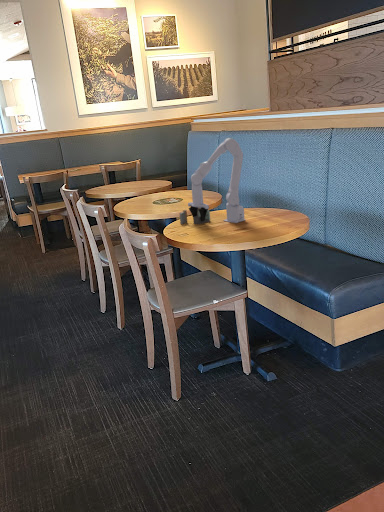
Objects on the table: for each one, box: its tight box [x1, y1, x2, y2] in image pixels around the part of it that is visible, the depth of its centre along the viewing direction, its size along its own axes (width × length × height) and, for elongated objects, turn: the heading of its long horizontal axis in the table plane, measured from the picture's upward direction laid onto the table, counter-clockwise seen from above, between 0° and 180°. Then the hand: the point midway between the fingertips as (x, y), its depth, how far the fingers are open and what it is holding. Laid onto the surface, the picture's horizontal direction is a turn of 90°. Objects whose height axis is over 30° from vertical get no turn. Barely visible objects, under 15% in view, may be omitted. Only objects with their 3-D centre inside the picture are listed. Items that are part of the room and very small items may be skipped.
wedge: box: [192, 216, 211, 225], centre depth 247 cm, size 8×4×4 cm, turn 133°
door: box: [198, 210, 211, 221], centre depth 251 cm, size 2×9×6 cm, turn 42°
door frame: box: [179, 208, 201, 225], centre depth 253 cm, size 2×20×7 cm, turn 133°
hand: (199, 220), depth 246 cm, fingers open, 5 cm apart
